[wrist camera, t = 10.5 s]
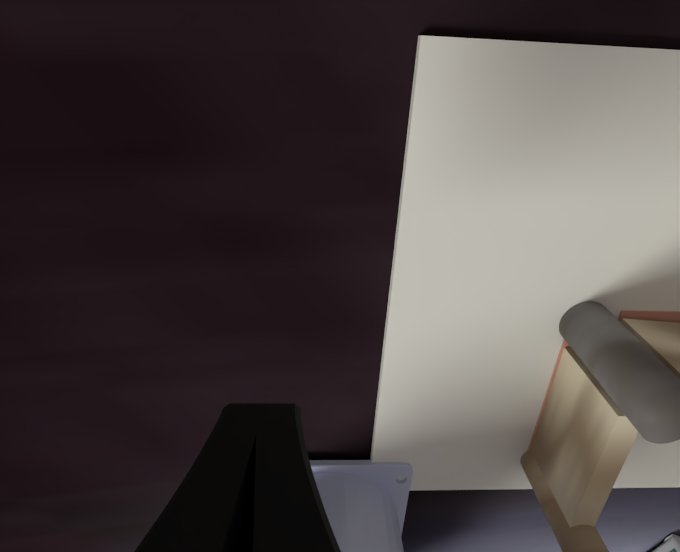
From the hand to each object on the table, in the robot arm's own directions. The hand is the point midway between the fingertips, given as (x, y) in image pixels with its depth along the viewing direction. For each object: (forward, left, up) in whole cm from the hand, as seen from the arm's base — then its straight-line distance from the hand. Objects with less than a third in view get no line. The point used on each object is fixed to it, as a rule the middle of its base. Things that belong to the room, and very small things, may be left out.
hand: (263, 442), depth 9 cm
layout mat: (-3, -14, -9) cm, 17 cm away
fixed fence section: (-7, -12, -9) cm, 16 cm away
